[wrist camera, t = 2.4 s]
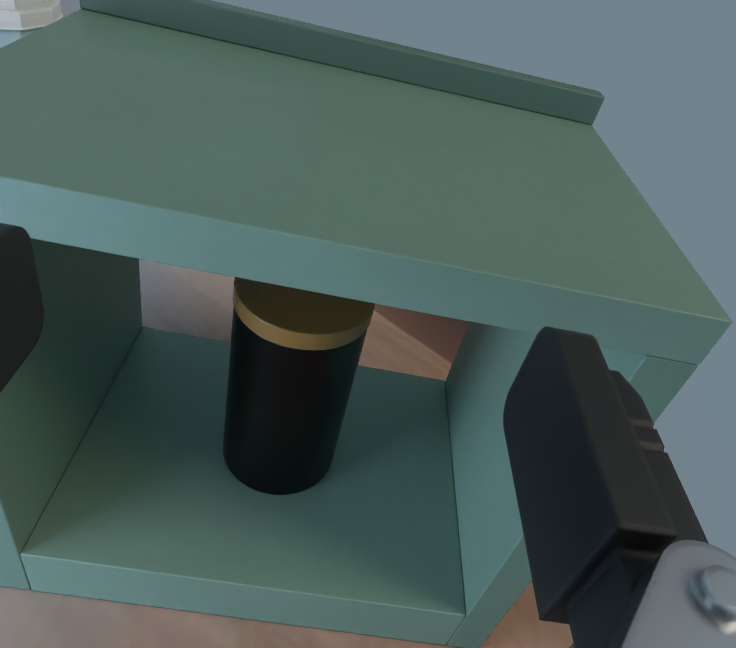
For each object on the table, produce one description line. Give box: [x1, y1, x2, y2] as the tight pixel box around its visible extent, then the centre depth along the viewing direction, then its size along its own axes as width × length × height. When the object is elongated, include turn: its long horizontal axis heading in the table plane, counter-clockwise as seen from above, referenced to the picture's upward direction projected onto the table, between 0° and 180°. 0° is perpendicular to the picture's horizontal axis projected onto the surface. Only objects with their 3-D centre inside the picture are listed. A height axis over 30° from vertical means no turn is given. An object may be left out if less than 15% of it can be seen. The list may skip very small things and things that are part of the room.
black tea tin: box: [223, 277, 375, 495], centre depth 26 cm, size 6×6×10 cm
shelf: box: [0, 0, 732, 648], centre depth 24 cm, size 21×14×21 cm, turn 88°
